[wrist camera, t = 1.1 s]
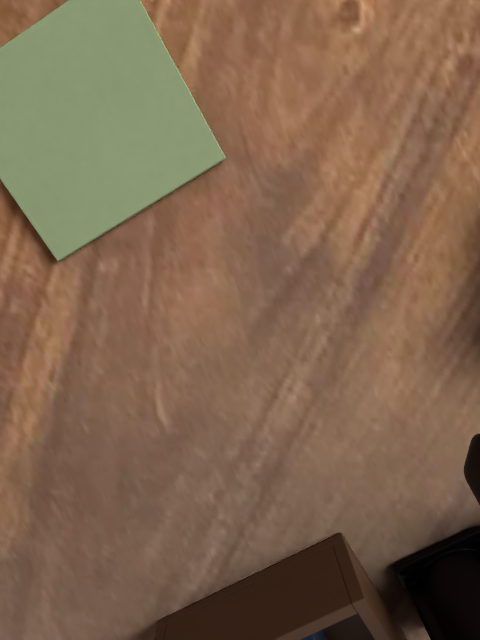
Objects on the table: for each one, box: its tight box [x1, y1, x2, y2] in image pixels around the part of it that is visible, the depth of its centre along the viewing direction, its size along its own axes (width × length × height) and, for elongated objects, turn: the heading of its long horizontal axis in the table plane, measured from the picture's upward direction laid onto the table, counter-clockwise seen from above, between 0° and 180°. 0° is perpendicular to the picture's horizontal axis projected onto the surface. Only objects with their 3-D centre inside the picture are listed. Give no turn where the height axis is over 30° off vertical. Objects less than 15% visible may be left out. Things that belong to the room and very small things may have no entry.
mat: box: [0, 0, 226, 261], centre depth 19 cm, size 10×9×1 cm
